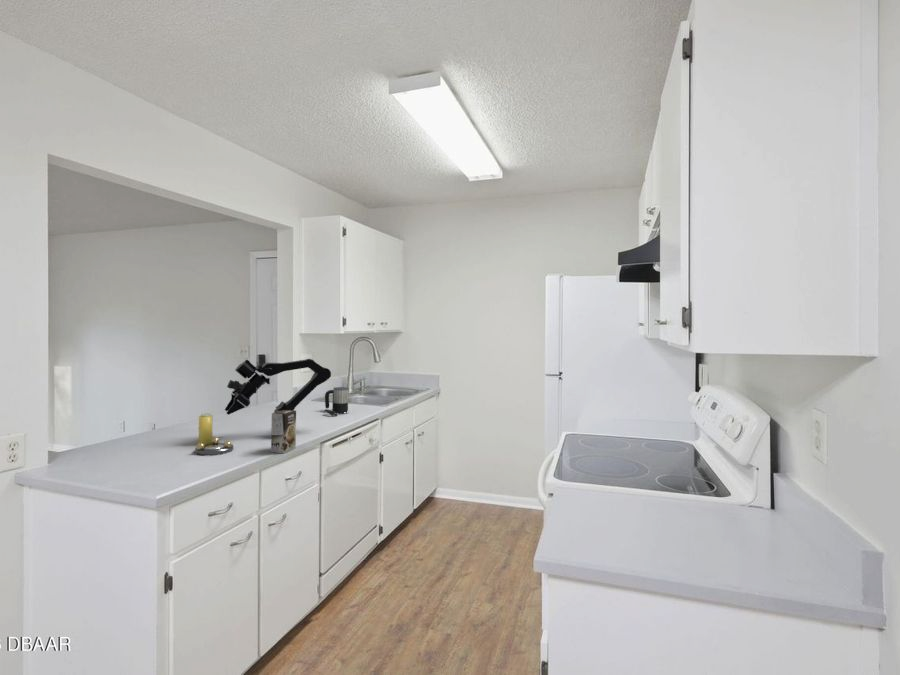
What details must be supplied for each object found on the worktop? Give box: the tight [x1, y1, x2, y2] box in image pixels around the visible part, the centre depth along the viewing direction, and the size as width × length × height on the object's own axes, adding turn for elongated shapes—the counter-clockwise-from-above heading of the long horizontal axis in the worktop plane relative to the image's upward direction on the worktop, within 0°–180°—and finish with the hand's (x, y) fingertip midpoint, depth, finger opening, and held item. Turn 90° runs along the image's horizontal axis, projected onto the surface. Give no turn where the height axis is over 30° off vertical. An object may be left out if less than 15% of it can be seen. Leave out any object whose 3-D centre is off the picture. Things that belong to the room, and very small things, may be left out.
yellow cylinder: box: [198, 413, 213, 445], centre depth 205 cm, size 5×5×13 cm
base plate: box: [194, 437, 234, 456], centre depth 194 cm, size 14×14×4 cm
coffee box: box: [270, 409, 297, 454], centre depth 197 cm, size 9×6×16 cm
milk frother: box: [324, 386, 350, 416], centre depth 277 cm, size 14×16×15 cm
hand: (226, 412), depth 209 cm, fingers open, 9 cm apart
